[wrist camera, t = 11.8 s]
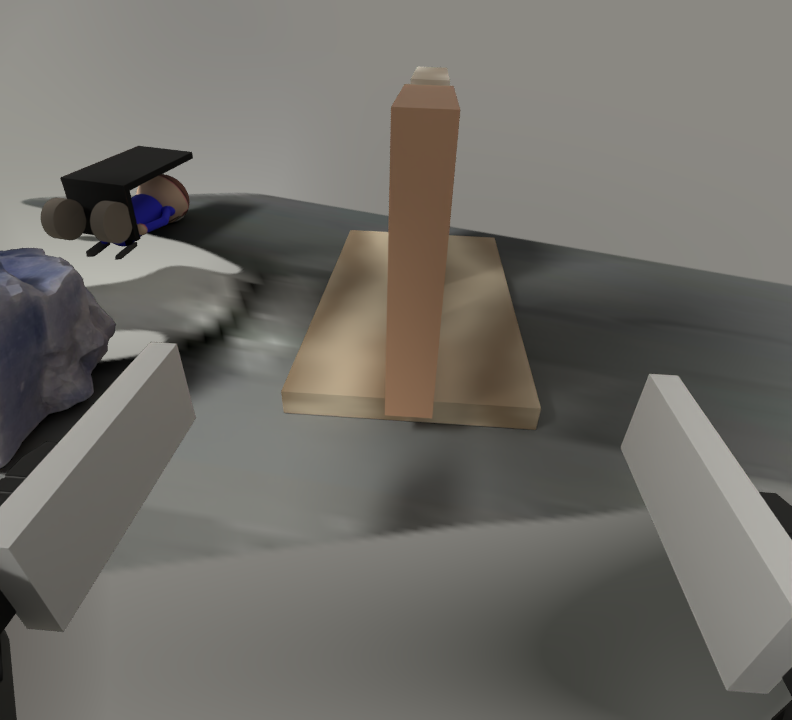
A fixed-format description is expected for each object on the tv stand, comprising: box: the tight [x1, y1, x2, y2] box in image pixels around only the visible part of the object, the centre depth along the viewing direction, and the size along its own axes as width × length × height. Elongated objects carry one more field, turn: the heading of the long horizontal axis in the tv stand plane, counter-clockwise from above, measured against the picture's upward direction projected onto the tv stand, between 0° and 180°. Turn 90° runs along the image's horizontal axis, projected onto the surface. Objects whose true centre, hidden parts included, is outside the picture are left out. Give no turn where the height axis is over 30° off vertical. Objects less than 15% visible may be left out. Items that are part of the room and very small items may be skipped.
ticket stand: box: [281, 67, 541, 430], centre depth 34 cm, size 14×26×16 cm, turn 176°
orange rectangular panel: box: [385, 84, 460, 418], centre depth 25 cm, size 2×9×14 cm, turn 176°
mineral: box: [0, 248, 116, 468], centre depth 27 cm, size 15×10×10 cm
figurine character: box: [41, 146, 193, 259], centre depth 48 cm, size 7×8×15 cm
